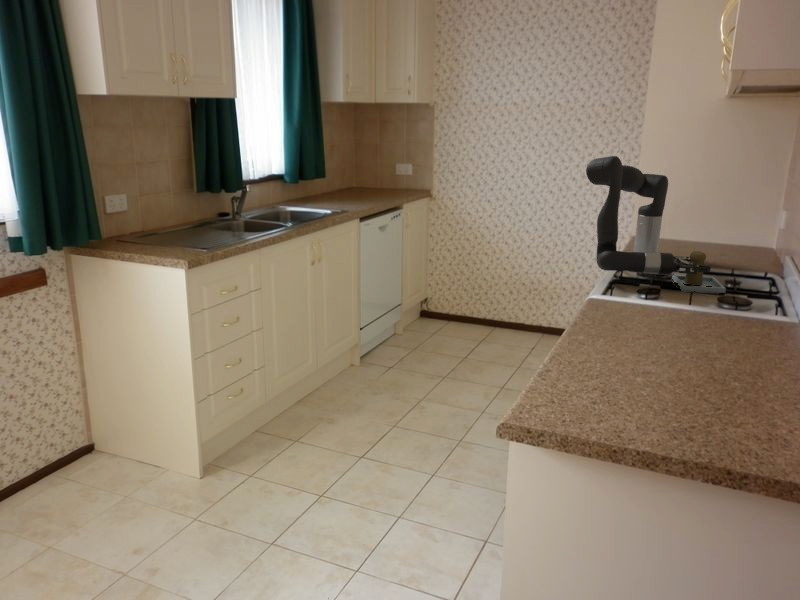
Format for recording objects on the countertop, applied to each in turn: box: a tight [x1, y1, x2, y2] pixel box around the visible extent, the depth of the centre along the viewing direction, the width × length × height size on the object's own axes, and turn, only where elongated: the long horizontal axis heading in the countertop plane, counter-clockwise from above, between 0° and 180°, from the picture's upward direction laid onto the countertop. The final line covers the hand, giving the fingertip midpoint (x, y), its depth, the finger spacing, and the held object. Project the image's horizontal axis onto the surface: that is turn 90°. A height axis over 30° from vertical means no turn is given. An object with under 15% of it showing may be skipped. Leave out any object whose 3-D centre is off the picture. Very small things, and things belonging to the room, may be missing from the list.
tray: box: [671, 274, 727, 295], centre depth 227 cm, size 14×14×2 cm
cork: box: [684, 250, 707, 285], centre depth 228 cm, size 6×6×11 cm
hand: (706, 266), depth 225 cm, fingers open, 8 cm apart
